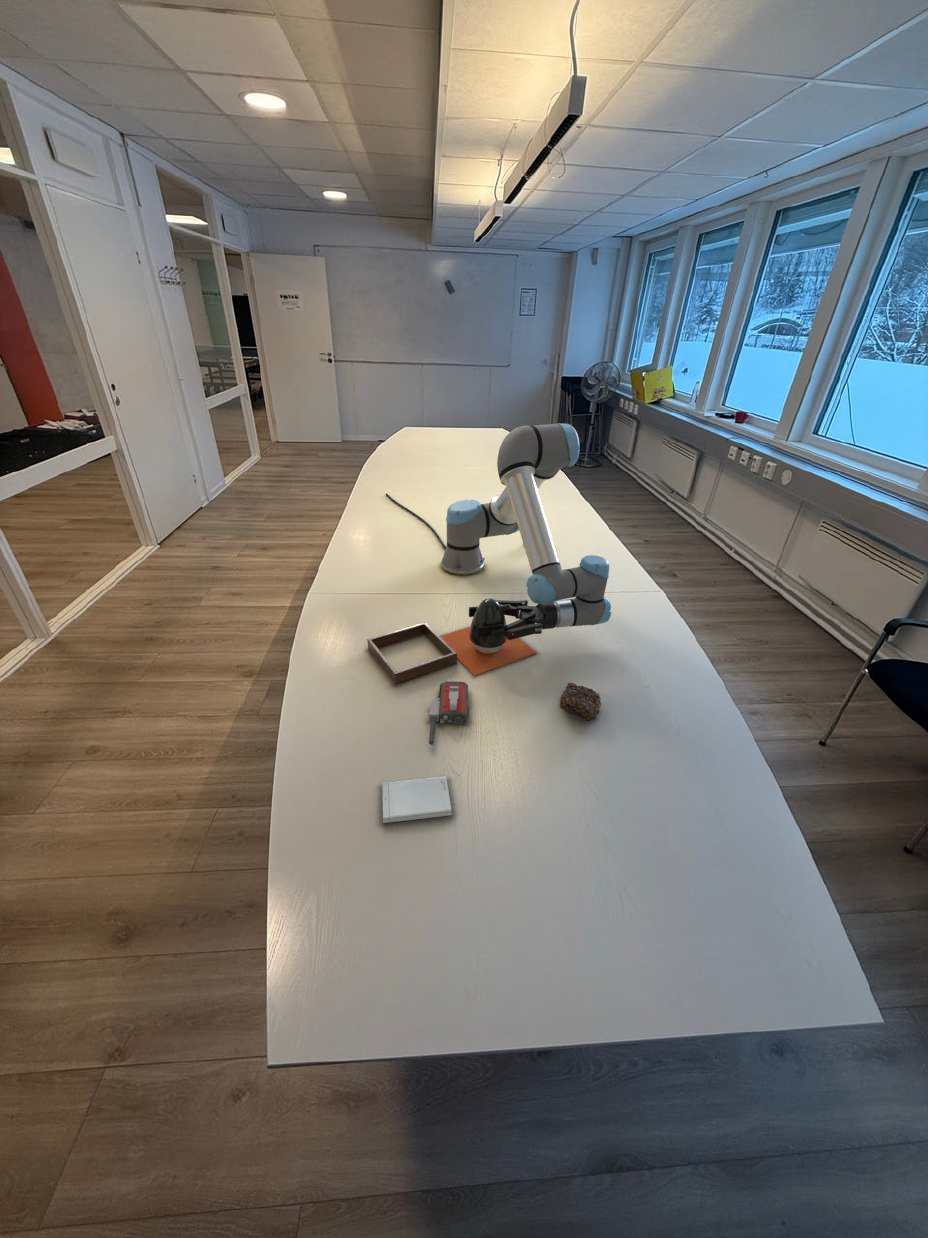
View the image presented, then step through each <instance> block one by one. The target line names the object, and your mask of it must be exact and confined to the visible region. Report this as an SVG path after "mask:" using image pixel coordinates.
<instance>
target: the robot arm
mask: <svg viewBox="0 0 928 1238" xmlns="http://www.w3.org/2000/svg"><path fill="white" fill-rule="evenodd" d="M579 456H580V438H579V435H578V433H577V431H576V428H574V427H573V425H571V424H569V423H560V422H558V423H548V424H538V425H537V424H536V425H535V424H534V425H520V426H518V427H515V428H513V429H512V430H511V431H510V432H509V433H508V434H507V435H506V436H505V437H504V438H503V440H502V442H501V444H500V446H499V449H498V454H497V459H496V460H497V461H496V467H497V474H498V477H499V481H500V483H501V485H503V486H505V487H504V489H503V491H502V492H501V493H498V494H496V495H494V496H493V498H492V499H491V501H489V502H488V503H481V502H480V501H478V500H476V499H461V500H458V501H456V502H453V503H451V504H450V505H449V506H448V508H447V511H446V518H445V521H446V545H445V544H444V541H443V540H442V538H441V537H440V536H439V534H438V533H437V531H436V530H435V529H434V528H433V527H432V526H431V525H430V524H429V523H428V522H427V521H426V520H425V519H424V518H422V517H421V516H419V514H416V513H415V512H413V511H412V510H410V509H409V508H407V507H406V506H404V505H403V504H401V503H399V502H398V501H397V500H395V499H393V498H392V497H391V496H390V495H389V493H387V492H386V493H385V496H386V497H387V498H388V499H389V500H391V501H392V502H393V503H395V504H396V505H397V506H399V507H400V508H402V509H404V510H405V511H407V512H408V513H410V514H411V515H413V516H414V517H416V518H417V519H418V520H420V521H421V522H423V524H425V525H426V526H427V527H428V528H429V529H430V531H432V532H433V534H434V535H435V536H436V538H437V539H438V541H439V543H440V544H441V546H442V548H443V549H444V553H443V557H442V558H441V568H442V570H443V571H444V572H446V573H449V574H451V575H456V576H471V575H475V574H478V573H480V572H481V571H483V569H484V566H485V565H484V561H485V560H486V559H485V557H483V555H482V551H481V548H480V539H484V538H490V537H491V538H492V537H498V536H504V535H506V536H507V535H508V536H509V535H512V534H515V533H517V532H518V531H519V534H520V537H521V540H522V544H523V547H524V550H525V551H524V552H525V554H526V558H527V560H528V561H527V562H528V565H529V567H530V570H531V573H532V575H530V576H529V577H528V578H527V580H526V588H527V589H526V592H527V596H528V597H529V599H530V600H531V602H533V603H534V604H536V605H529V600H526V599H523V600H505V599H504V600H501V599H495V600H496V601H497V602H498V603H499V604H500V606H501V605H507V604H509V605H510V608H509V609H506V610H503V613H504V616H508V617H514V618H515V619H516V620H515V621H513V622H511V623H508V624H506V625H505V624H504V625H503V626H502V624H500V625H489V626H478V627H477V637H483V636H499V635H503V636H506V637H507V639H508V640H512V639H516V638H519V639H520V638H524V637H528V636H532V635H541V634H542V633H543V630H550V629H554V628H556V629H558V628H569V627H582V626H595V625H601V624H606V623H608V621H609V620H610V619H611V615H612V606H611V605H612V604H611V602H610V600H609V599H608V598H607V597H606V596H605V593H606V588H607V583H608V580H609V577H610V576H609V575H610V562H609V561H608V559H606V558H605V557H603V556H599V555H594V554H593V555H592V554H591V555H585V556H584V557H582V558H581V559H580V563H579V566H577V567H571V568H565V569H562V565H561V562H560V559H559V556H558V553H557V550H556V546H555V543H554V540H553V536H552V533H551V530H550V527H549V523H548V520H547V517H546V514H545V511H544V507H543V504H542V501H541V497H540V495H539V494H540V493H539V491H538V490H539V489H540V487H541V486H542V484H543V483H544V482H545V481H548V480H551V479H553V478H554V477H556V475H558V473H559V472H560V471H561V469H562V468H566V469H567V468H570V467H573V466H575V465H576V463H577V462H578V459H579ZM477 608H478V606H469V607H468V618H473V616H474V614H475V612H476V610H477ZM517 619H518V620H517ZM512 634H513V635H512Z"/></svg>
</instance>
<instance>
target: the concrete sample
mask: <svg viewBox="0 0 928 1238" xmlns="http://www.w3.org/2000/svg"><path fill="white" fill-rule="evenodd" d="M600 695H601V694H600V693H598V692H596V691H595V690H594V689H593V688H589V687H586V686H584V685H577V684H576V683H574V682H569V683H567V685H566V687H565V688H564V690H563V691H562V694H561V696H560V701H559V702H560V703H559V708H560V709H561V710H565V711H566V712H569V713H570V714H572V715H576V716H577V717H579V718H581V719H583V720H584V721H594V720H595V719H596V718H597V716H598V715H599V713H600V711H601V707H602V702H601V700H602V699H601V696H600Z"/></svg>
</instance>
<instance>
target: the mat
mask: <svg viewBox="0 0 928 1238" xmlns="http://www.w3.org/2000/svg"><path fill="white" fill-rule="evenodd" d="M470 627H471V626H468V627H465V628H462V629H458V630H455V631H452V632H449V633H446V634H443V635H439V636H440V637H441V638H442V639H443V640H444V641H445V642H446V643H447V644H448V645H449V646H450V647H451V648H452V649H453V650H454V651H455V652H456V653H457V661H458V662H460V664H461V665H462V666H463V667H464V668H465V669H467V670H468V671H469V673H471V674H472V676H474V677H477V676H479V675H482V674H485V673H487V672H490V671H493V670H496V669H498V668H501V667H504V666H507V665H508V664H509V665H510V664H512V663H515V662H517V661H520V660H523V659H525V658H528V657H531V656H533V655H536V654H537V651H536V650H534V649H533V648H532V647H530V646H529V645H528V644H526V643H525V642H524V641H523V640H521V639H520V638H516V639H512V640H508V639H507V640H506V642H505V643H504V645H503V647H502V648H501V649H500V650H499V651H497V652H495V653H491V654H486V653H482V652H479V651H478V650H476V649H475V648H474V646H473V645H472V642H471V640H470V637H469V633H470ZM512 635H513V634H512Z"/></svg>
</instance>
